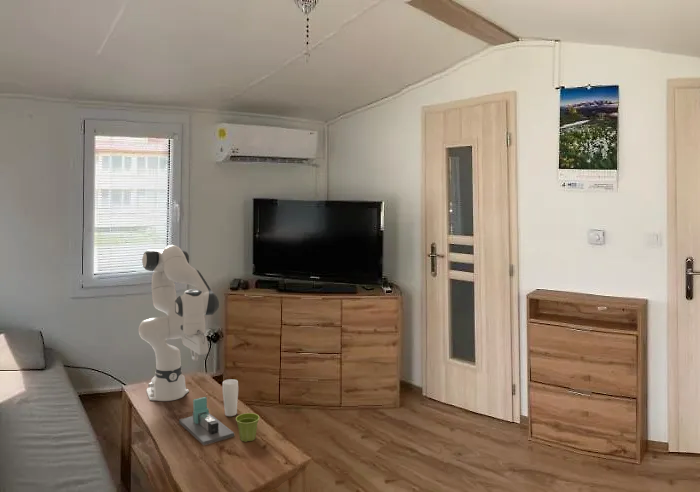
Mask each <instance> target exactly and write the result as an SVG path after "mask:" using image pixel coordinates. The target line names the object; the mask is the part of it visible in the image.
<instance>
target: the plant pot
mask: <svg viewBox="0 0 700 492" xmlns="http://www.w3.org/2000/svg"><path fill="white" fill-rule="evenodd" d="M260 418H261V417H260V415H259V414H257V413H253V412H246V413H241V414H239V415H237V416H236V417H235V422H236V424H237V429H238V434H239V439H240V441H242V442H244V443H247V442H253V441H254V440H255V439H256V435H257V428H258V423H259V420H260Z"/></svg>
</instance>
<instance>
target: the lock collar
mask: <svg viewBox="0 0 700 492" xmlns="http://www.w3.org/2000/svg"><path fill="white" fill-rule="evenodd" d="M192 402H193V403H192V404H193V405H192V406H193V411H192V416H193V415H194V422H195V423H196V424H198V414H200V413H204V412H206V413H207V414H208V415H209V413H210V412H209V408H208V406H207V405H208V400H207V397H206V396H203V397H199V398H198V397H197V398H194V399H193V401H192Z"/></svg>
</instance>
